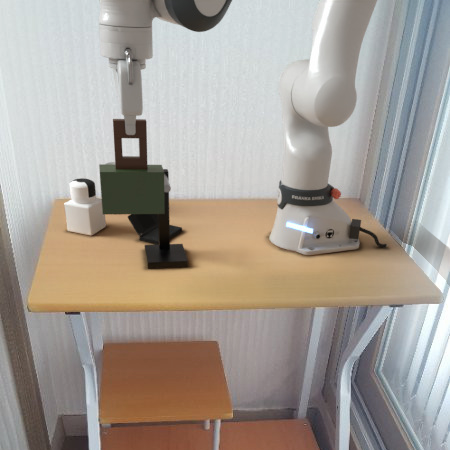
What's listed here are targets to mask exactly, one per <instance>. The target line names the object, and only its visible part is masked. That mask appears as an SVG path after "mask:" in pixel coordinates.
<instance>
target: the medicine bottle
mask: <svg viewBox="0 0 450 450" xmlns="http://www.w3.org/2000/svg"><path fill="white" fill-rule="evenodd" d="M68 185H69V193H70V199H69V200H67V201H66V202H64V203H63V206H64V214H65V221H66V223H65V224H66V230H67V232H71V233H75V234H81V235H85V236H94V235H95V234H97V233H98V232H100V231H101V230H103V229H104V228H107V221H106V214H103V211H102V198H99V197H97V191H96V183H95V181H94V180H91V179H89V178H85V177H84V178H83V177H82V178H81V177H80V178H75V179H73V180H71V181H70V182H69V184H68Z"/></svg>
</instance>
